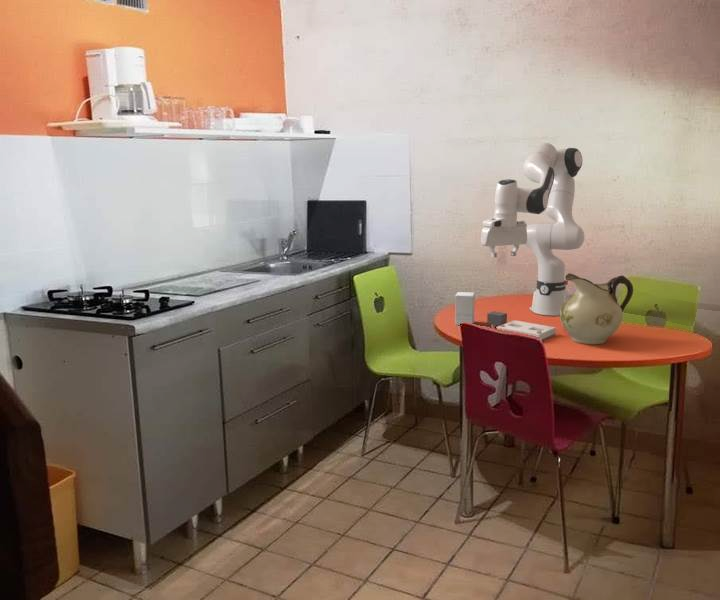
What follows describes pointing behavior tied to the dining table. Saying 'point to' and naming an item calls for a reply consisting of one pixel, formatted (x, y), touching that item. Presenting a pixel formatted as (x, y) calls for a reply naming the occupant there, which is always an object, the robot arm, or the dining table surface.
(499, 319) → the plug
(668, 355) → the dining table surface
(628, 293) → the pitcher
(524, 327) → the double socket
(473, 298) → the supplement box
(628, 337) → the dining table surface
